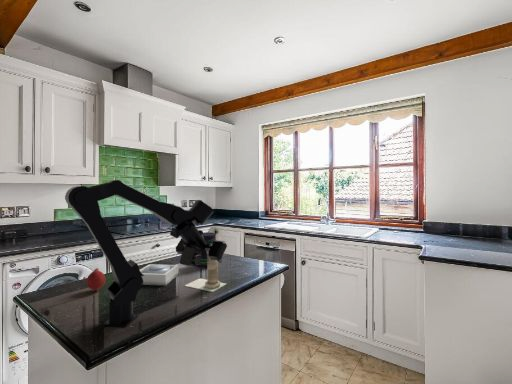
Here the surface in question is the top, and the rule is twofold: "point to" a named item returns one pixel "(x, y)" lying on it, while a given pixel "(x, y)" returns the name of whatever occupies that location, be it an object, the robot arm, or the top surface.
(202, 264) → the dark blue cylinder
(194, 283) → the game track
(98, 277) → the onion
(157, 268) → the dome button
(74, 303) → the top surface
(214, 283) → the beech pawn
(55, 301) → the top surface
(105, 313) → the top surface
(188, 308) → the top surface
